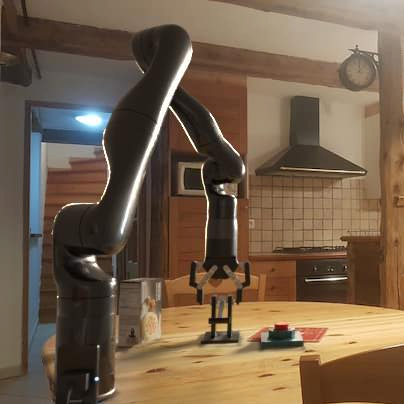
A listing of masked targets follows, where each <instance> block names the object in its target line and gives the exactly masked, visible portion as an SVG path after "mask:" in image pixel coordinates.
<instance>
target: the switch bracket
mask: <svg viewBox="0 0 404 404" xmlns="http://www.w3.org/2000/svg"><path fill="white" fill-rule="evenodd" d="M217 300H218V294H215V293H214V294H212V295H211V299H210V300H209V305H210V307H211V310H210V318H217V316H218V311H217V310H218V309H217ZM234 305H235V298H233V293H228V295H227V317H230V324H226V330H219V331H218V330H217V324H210V330H209V331H205V332H204V334H203V337H202V339H201V340H200V344H225V343H228V344H229V343H239V342H240V337H241V336H240V335H241V330H233V306H234ZM227 317H226V318H227Z"/></svg>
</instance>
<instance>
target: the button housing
mask: <svg viewBox="0 0 404 404" xmlns="http://www.w3.org/2000/svg"><path fill="white" fill-rule="evenodd" d="M267 329H268V330H267V331H262V332H260V347H261V348H264V349H265V348H287V347H288V348H289V347H291V348H292V347H304V343H305V340H304V338H303V336H302V334H301V331H300V330H296V329H295V327H292V326H289V330H284V331H278V330H274V326H272V327H269V328H267Z"/></svg>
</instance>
